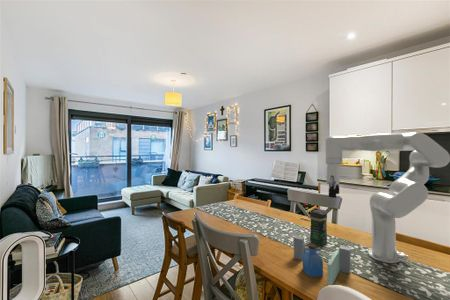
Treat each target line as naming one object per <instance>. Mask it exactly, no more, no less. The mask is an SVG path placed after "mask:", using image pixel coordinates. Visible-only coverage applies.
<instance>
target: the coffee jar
mask: <svg viewBox="0 0 450 300" xmlns="http://www.w3.org/2000/svg"><path fill="white" fill-rule="evenodd" d="M309 215H310V216H309V218H310V233H309V241H310V243H312V244H315V245H316V246H324V245H326V244H327V243H328V232H327V231H328V229H327V227H328V226H327V221H328V212H327V211H326V210H324V209H320V208H318V209H315V210H311V211H310V214H309Z"/></svg>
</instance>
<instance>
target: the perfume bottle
mask: <svg viewBox="0 0 450 300" xmlns="http://www.w3.org/2000/svg"><path fill="white" fill-rule="evenodd" d="M307 247H308V248H307V250H304V254H303V260H302V269H303V271H304V273H305V274H306V276H307V277H323V276H324V262H323V259H322V258H321V256H320V253H318V252H317V250H318V249H317V245H315V244H313V243H311V242H310V243H308V246H307Z"/></svg>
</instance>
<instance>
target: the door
mask: <svg viewBox="0 0 450 300" xmlns="http://www.w3.org/2000/svg"><path fill="white" fill-rule="evenodd" d="M326 269H327V270H326V271H327V272H326V273H327V277H326V278H327V282H326V283H327V284H326V285H327V286H328V285H332V286H333V285H334V283H335V281H336V280H337V277H338V275H339V273H340V271H339V249H336V250H335V251H334V253H333V254H332V256H331V257H330V258H329V261H328V262H327V265H326ZM327 286H326V287H327Z"/></svg>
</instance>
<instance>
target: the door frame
mask: <svg viewBox="0 0 450 300" xmlns="http://www.w3.org/2000/svg"><path fill="white" fill-rule="evenodd" d="M338 250H339V272H343V273H346V274H351V266H352V265H351V247H349V246H345V245H344V246H343V245H340V246H339V249H338ZM304 253H305V237H302V236H299V235H294V237H293V258H294V259H297V260H300V261H303V254H304Z"/></svg>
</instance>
